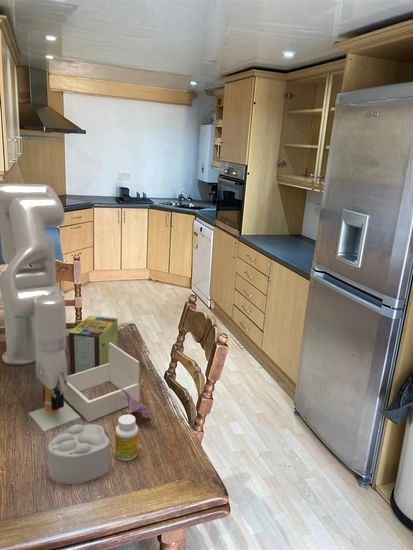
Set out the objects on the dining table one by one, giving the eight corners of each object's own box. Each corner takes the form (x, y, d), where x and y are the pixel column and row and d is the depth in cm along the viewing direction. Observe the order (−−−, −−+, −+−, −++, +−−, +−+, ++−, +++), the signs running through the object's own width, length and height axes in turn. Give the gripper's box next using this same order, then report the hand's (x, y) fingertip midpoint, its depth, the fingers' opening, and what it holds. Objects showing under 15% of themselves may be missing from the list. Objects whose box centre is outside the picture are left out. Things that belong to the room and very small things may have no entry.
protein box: (118, 359, 151) (118, 318, 147) (100, 381, 136) (99, 336, 132) (89, 355, 153) (89, 314, 148) (69, 376, 138) (67, 331, 134)
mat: (28, 414, 118) (28, 412, 117) (63, 401, 124) (63, 400, 124) (44, 432, 111) (43, 430, 110) (80, 418, 117) (80, 416, 117)
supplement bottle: (119, 464, 101) (119, 428, 99) (112, 449, 106) (112, 415, 103) (140, 457, 104) (141, 422, 101) (133, 444, 108) (134, 410, 106)
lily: (155, 437, 113) (166, 401, 115) (113, 429, 108) (125, 391, 110) (140, 425, 124) (150, 392, 125) (101, 417, 119) (112, 382, 120)
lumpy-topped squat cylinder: (112, 473, 98) (112, 441, 96) (53, 491, 92) (51, 457, 90) (100, 446, 107) (100, 415, 105) (45, 460, 101) (44, 429, 98)
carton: (61, 396, 127) (60, 356, 123) (110, 379, 138) (110, 342, 134) (88, 422, 115) (87, 379, 112) (139, 402, 126) (139, 362, 123)
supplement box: (56, 414, 115) (55, 380, 112) (44, 411, 116) (43, 378, 113) (63, 407, 118) (61, 374, 116) (51, 405, 119) (50, 372, 116)
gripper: (24, 334, 115) (27, 395, 120) (50, 358, 103) (53, 424, 108) (51, 328, 120) (53, 386, 125) (80, 350, 108) (81, 413, 113)
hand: (53, 403), depth 117 cm, fingers closed on supplement box, 4 cm apart
